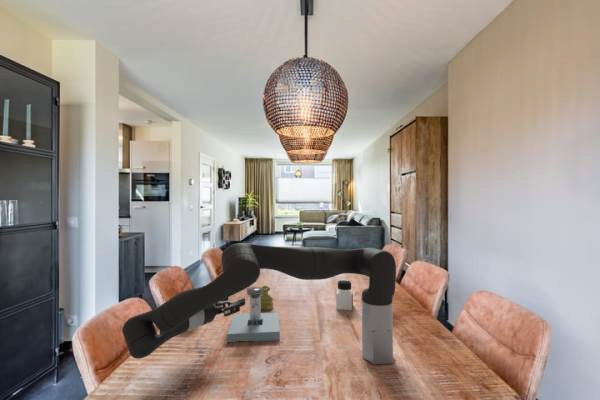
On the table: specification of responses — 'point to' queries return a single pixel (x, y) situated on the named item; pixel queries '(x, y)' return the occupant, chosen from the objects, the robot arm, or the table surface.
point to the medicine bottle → (344, 296)
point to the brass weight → (266, 299)
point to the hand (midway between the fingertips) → (235, 299)
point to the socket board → (254, 328)
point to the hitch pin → (255, 305)
